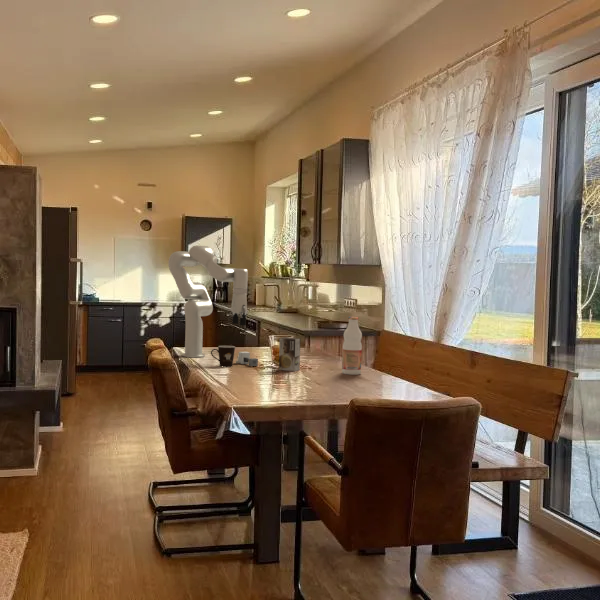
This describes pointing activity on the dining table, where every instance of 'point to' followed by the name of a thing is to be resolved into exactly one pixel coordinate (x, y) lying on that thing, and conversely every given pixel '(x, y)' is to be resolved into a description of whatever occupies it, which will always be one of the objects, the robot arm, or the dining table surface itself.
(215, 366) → the dining table surface
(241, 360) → the white cube on rod
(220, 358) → the coffee mug
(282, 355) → the coffee box
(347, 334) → the fruit juice
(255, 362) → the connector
